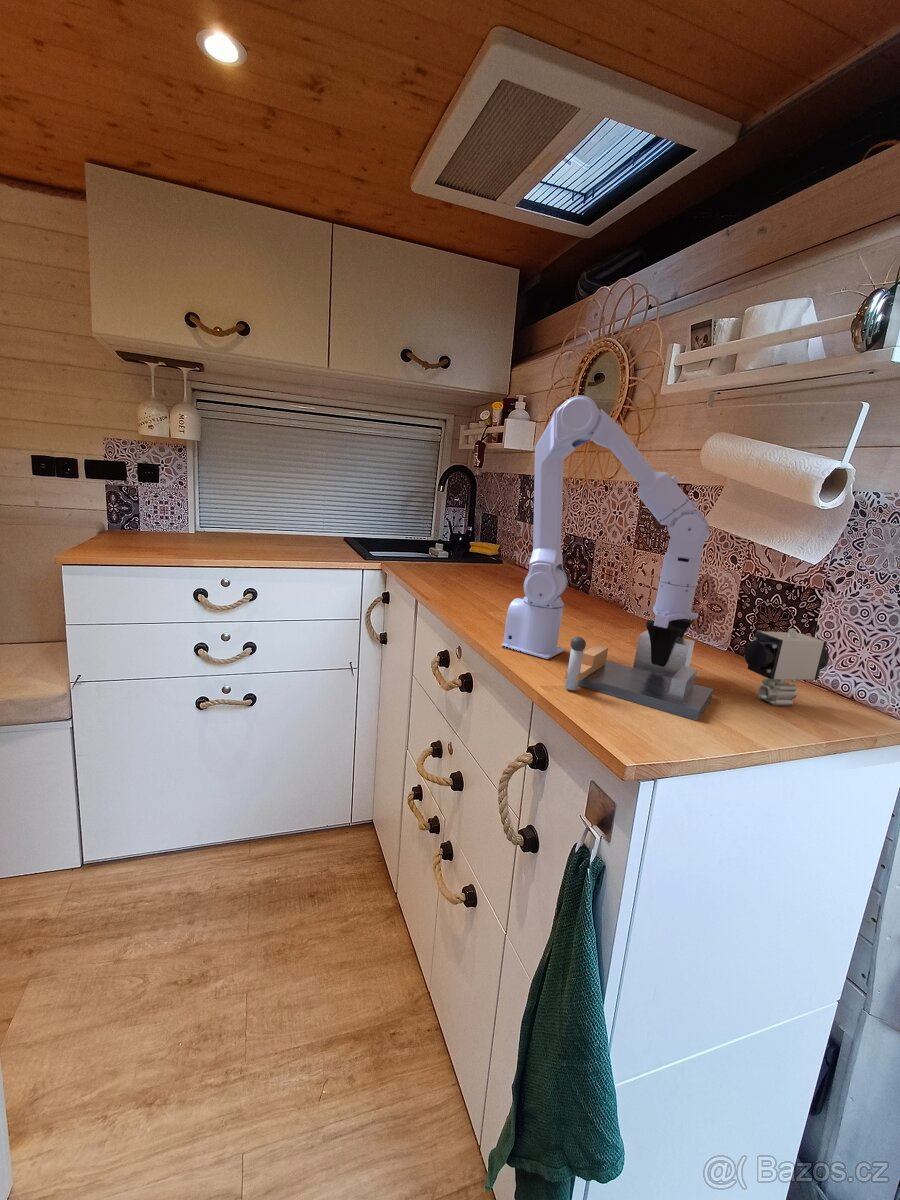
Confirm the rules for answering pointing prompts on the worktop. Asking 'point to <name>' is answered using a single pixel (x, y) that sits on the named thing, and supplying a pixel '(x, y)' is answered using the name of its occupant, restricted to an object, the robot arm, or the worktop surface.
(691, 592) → the robot arm
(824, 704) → the worktop surface
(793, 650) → the pneumatic valve
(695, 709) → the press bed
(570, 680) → the ball knob lever
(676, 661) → the block
